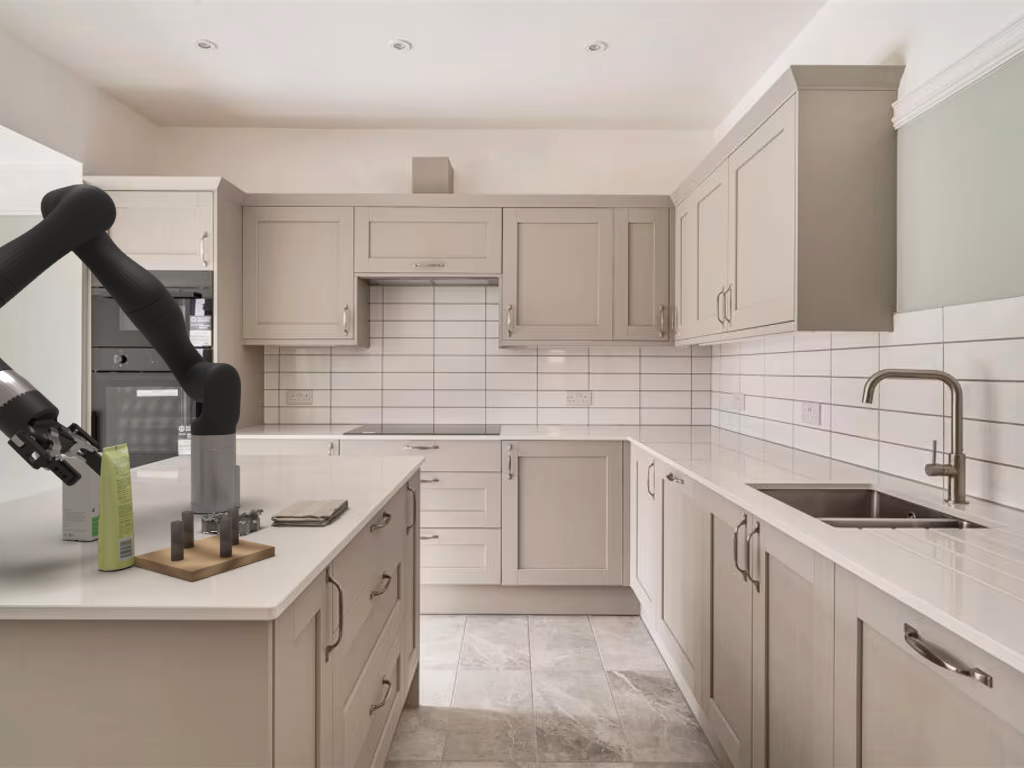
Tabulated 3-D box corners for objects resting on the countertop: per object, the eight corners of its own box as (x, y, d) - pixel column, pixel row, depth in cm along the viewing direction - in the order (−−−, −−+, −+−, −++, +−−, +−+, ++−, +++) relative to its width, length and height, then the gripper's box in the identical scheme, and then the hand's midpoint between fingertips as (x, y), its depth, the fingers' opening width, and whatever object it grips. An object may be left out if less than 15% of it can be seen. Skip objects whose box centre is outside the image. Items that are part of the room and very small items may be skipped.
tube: (92, 566, 97) (91, 445, 97) (127, 559, 101) (127, 442, 100) (103, 574, 93) (102, 448, 93) (140, 566, 97) (139, 445, 97)
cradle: (218, 542, 111) (218, 502, 110) (274, 555, 103) (274, 511, 103) (134, 565, 97) (133, 519, 97) (191, 581, 90) (191, 531, 90)
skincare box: (89, 542, 110) (88, 457, 110) (59, 540, 112) (58, 456, 111) (126, 530, 119) (126, 451, 118) (98, 528, 120) (98, 450, 120)
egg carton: (266, 529, 122) (266, 508, 122) (239, 538, 115) (239, 517, 114) (223, 524, 125) (223, 504, 125) (194, 533, 118) (194, 512, 118)
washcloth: (268, 529, 122) (268, 514, 122) (297, 509, 140) (297, 496, 140) (327, 529, 122) (327, 514, 122) (349, 509, 140) (349, 496, 140)
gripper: (-1, 389, 88) (83, 467, 90) (61, 387, 102) (133, 454, 104) (-40, 426, 88) (45, 503, 89) (28, 418, 102) (100, 485, 103)
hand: (92, 477), depth 96 cm, fingers open, 8 cm apart
